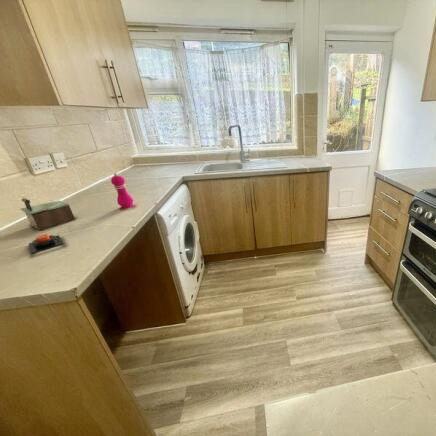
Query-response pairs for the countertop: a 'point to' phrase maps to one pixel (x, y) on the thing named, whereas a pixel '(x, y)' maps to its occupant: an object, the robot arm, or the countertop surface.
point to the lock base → (45, 244)
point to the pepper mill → (122, 192)
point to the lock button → (43, 238)
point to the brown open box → (50, 218)
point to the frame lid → (41, 206)
